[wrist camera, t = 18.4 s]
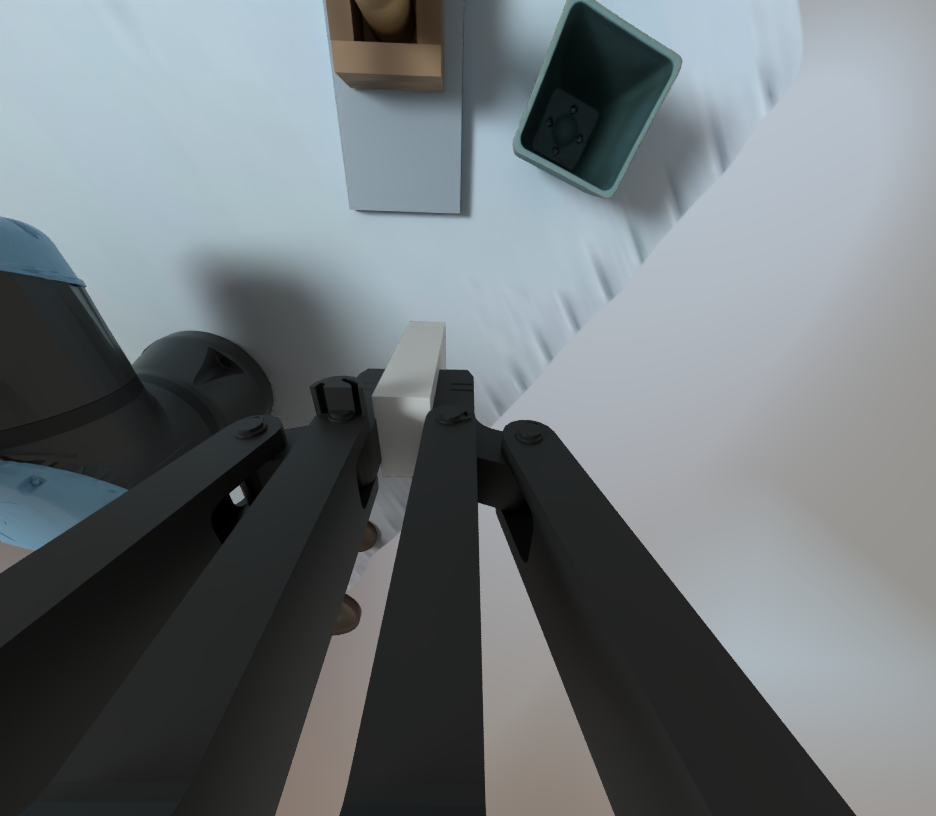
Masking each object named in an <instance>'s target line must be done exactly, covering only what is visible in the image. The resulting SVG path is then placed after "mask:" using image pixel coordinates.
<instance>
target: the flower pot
mask: <svg viewBox="0 0 936 816" xmlns="http://www.w3.org/2000/svg"><path fill="white" fill-rule="evenodd" d="M681 64H682V58H681V57H680V56H679V55H678V54H677V53H675V52H674V51H672V50H671V49H669V48H667V47H666V46H664V45H663V44H661V43H659V42H658V41H656V40H655V39H653V38H651V37H650V36H648V35H647V34H645V33H643V32H642V31H640V30H639V29H637V28H635V27H634V26H633V25H631V24H629V23H628V22H626V21H625V20H623V19H622V18H620V17H618V16H617V15H616V14H614V13H612V11H610V10H608V9H607V8H605V7H604V6H602V5H601V4H599V3H598V2H596V1H595V0H567V1H566V3H565V6H564V9H563V12H562V15H561V17H560V20H559V23H558V25H557V28H556V31H555V33H554V36H553V39H552V41H551V44H550V47H549V49H548V52H547V55H546V57H545V60H544V63H543V65H542V68H541V70H540V73H539V75H538V78H537V81H536V83H535V86H534V89H533V91H532V94H531V96H530V99H529V101H528V104H527V107H526V109H525V112H524V114H523V117H522V119H521V122H520V124H519V127H518V129H517V132H516V134H515V137H514V140H513V150H514V153H515V155H516V156H517V157H519V158H521V159H523V160H525V161H527V162H529V163H531V164H532V165H534V166H536V167H538V168H540V169H542V170H544V171H546V172H548V173H549V174H551V175H553V176H555V177H557V178H559V179H561V180H563V181H564V182H566V183H568V184H570V185H572V186H574V187H576V188H578V189H580V190H581V191H583V192H585V193H588V194H591V195H594V196H598V197H601V198H605V199H609V198H611V197H612V196H613V195H614V193H615V191H616V189H617V188H618V186H619V184H620V182H621V180H622V178H623V176H624V174H625V172H626V170H627V168H628V167H629V164H630V162H631V161H632V159H633V157H634V155H635V153H636V151H637V149H638V147H639V145H640V143H641V141H642V140H643V138H644V136H645V134H646V132H647V130H648V128H649V127H650V125H651V123H652V121H653V119H654V117H655V115H656V113H657V111H658V110H659V108H660V106H661V104H662V102H663V100H664V99H665V97H666V95H667V93H668V92H669V90H670V88H671V86H672V84H673V83H674V81H675V79H676V78H677V76H678V73H679V71H680V69H681ZM572 107H576V113H575V114H572V113H571V108H572ZM549 119H550V120H552V125H551V126H547V121H548V120H549ZM578 136H581V137H582V141H581V143H577V141H576V140H577V137H578ZM554 148H558V154H556V155H554V154H553V149H554Z"/></svg>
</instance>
